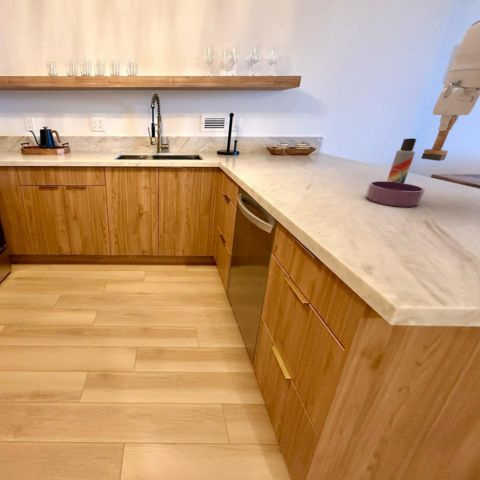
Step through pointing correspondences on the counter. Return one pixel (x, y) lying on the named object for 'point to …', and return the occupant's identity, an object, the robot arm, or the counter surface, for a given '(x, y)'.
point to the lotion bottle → (402, 161)
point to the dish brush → (438, 146)
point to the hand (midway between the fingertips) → (444, 130)
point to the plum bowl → (394, 193)
